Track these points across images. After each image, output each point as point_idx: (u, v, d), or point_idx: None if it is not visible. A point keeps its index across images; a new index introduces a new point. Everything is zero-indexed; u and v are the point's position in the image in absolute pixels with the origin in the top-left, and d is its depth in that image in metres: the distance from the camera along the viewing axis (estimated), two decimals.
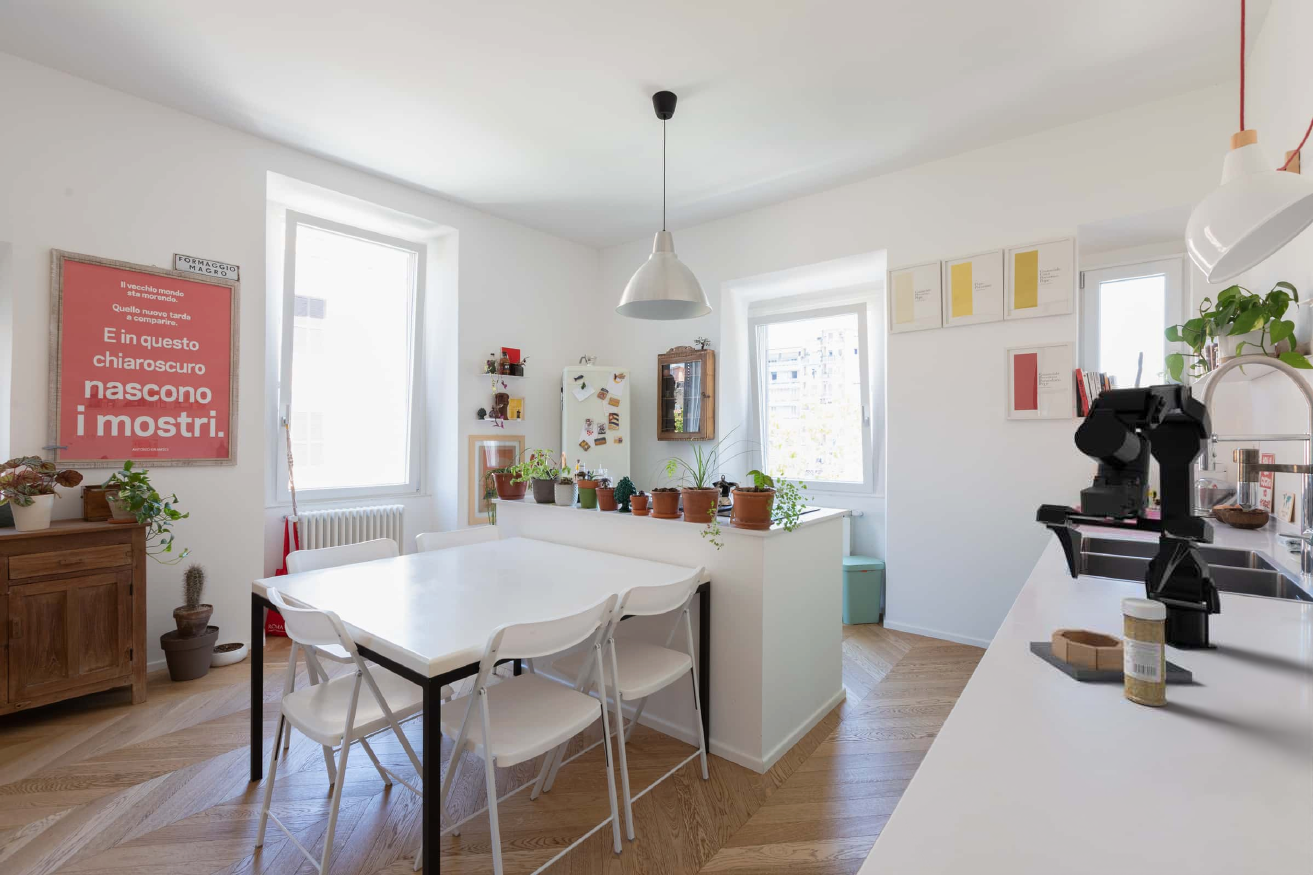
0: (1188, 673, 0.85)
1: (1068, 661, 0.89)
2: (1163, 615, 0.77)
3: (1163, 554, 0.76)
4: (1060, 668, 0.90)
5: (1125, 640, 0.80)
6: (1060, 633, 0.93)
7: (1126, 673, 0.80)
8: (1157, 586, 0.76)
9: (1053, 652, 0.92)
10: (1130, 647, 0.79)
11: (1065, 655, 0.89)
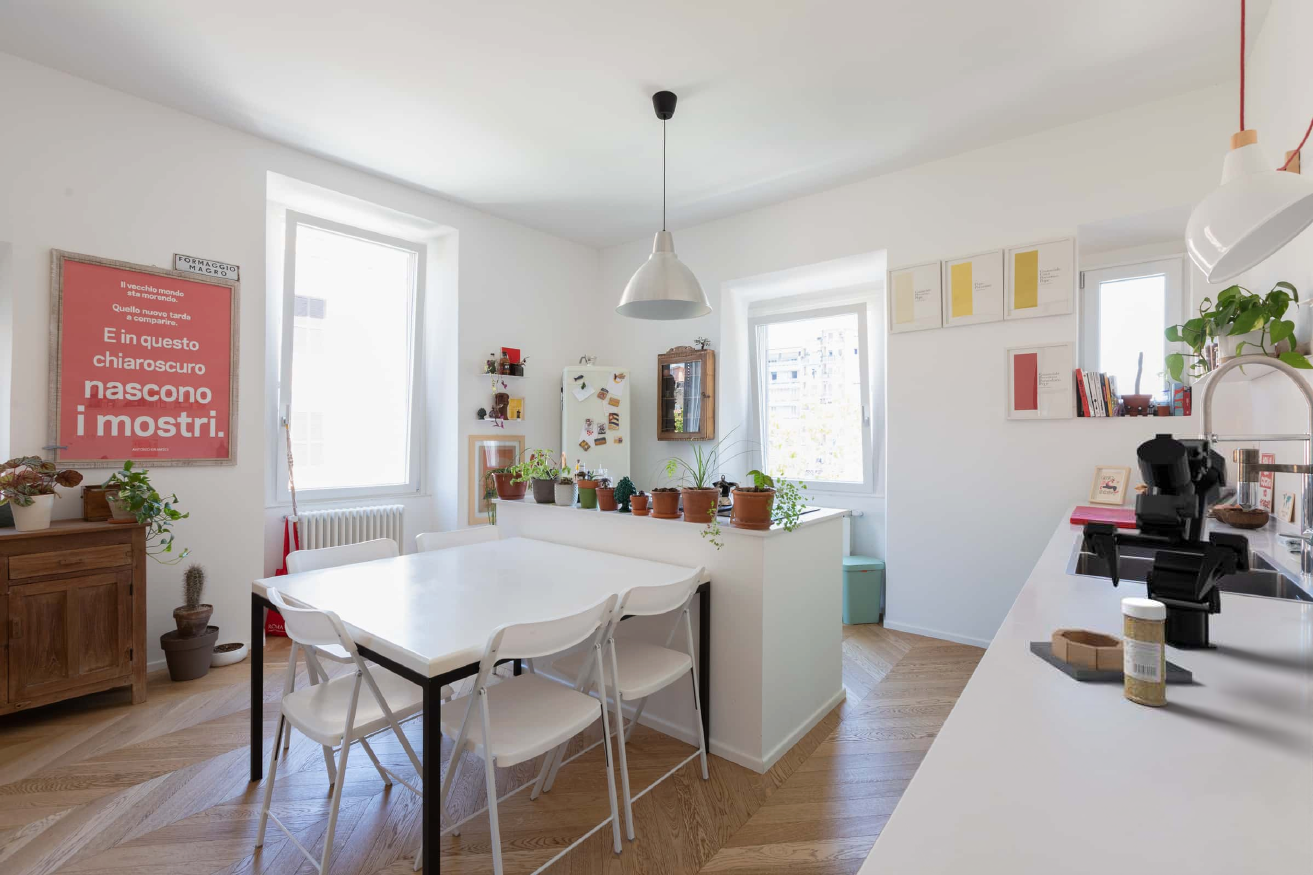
0: (1188, 673, 0.85)
1: (1068, 661, 0.89)
2: (1163, 615, 0.77)
3: (1206, 564, 0.82)
4: (1060, 668, 0.90)
5: (1125, 640, 0.80)
6: (1060, 633, 0.93)
7: (1126, 673, 0.80)
8: (1199, 591, 0.81)
9: (1053, 652, 0.92)
10: (1130, 647, 0.79)
11: (1065, 655, 0.89)
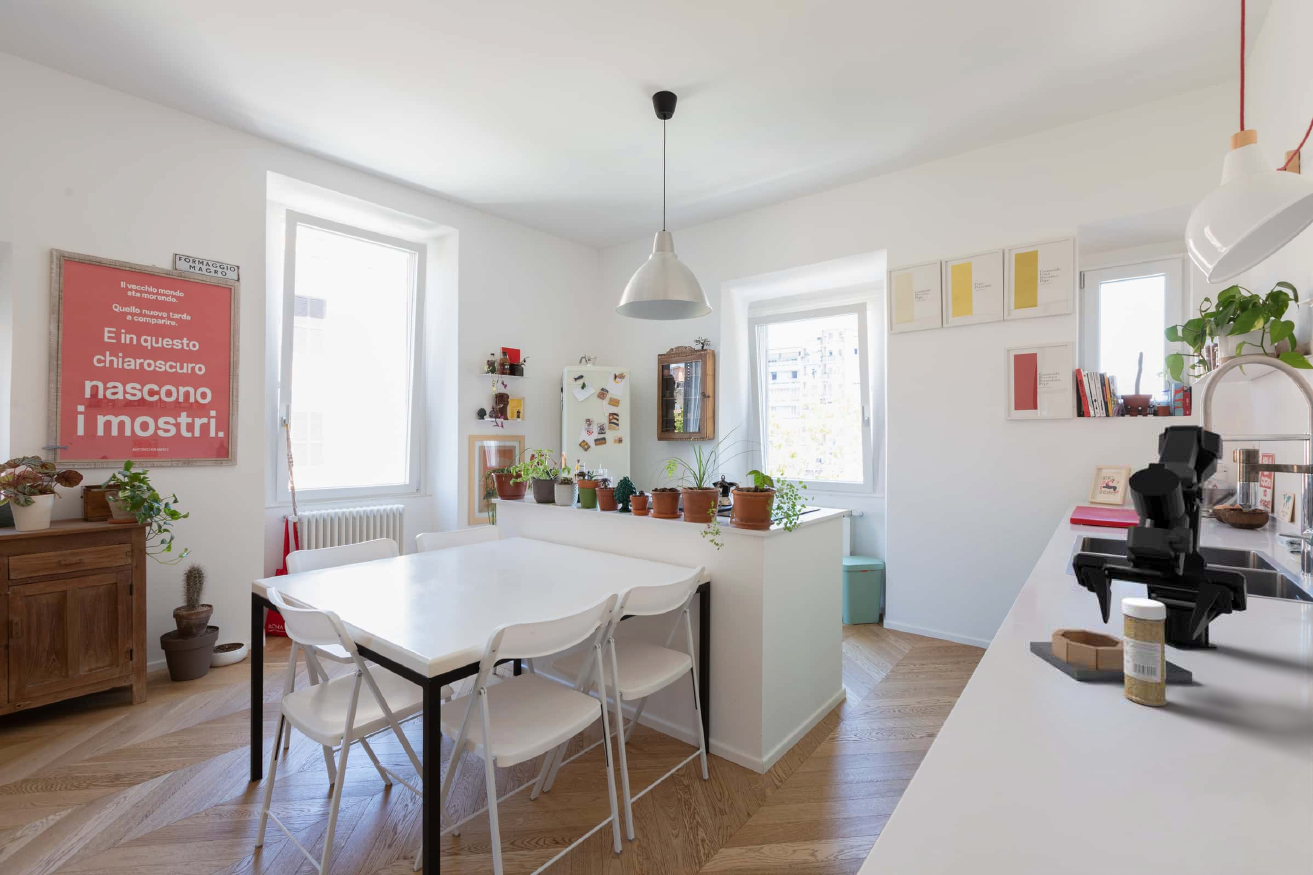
0: (1188, 673, 0.85)
1: (1068, 661, 0.89)
2: (1163, 615, 0.77)
3: (1201, 602, 0.78)
4: (1060, 668, 0.90)
5: (1125, 640, 0.80)
6: (1060, 633, 0.93)
7: (1126, 673, 0.80)
8: (1193, 631, 0.77)
9: (1053, 652, 0.92)
10: (1130, 647, 0.79)
11: (1065, 655, 0.89)
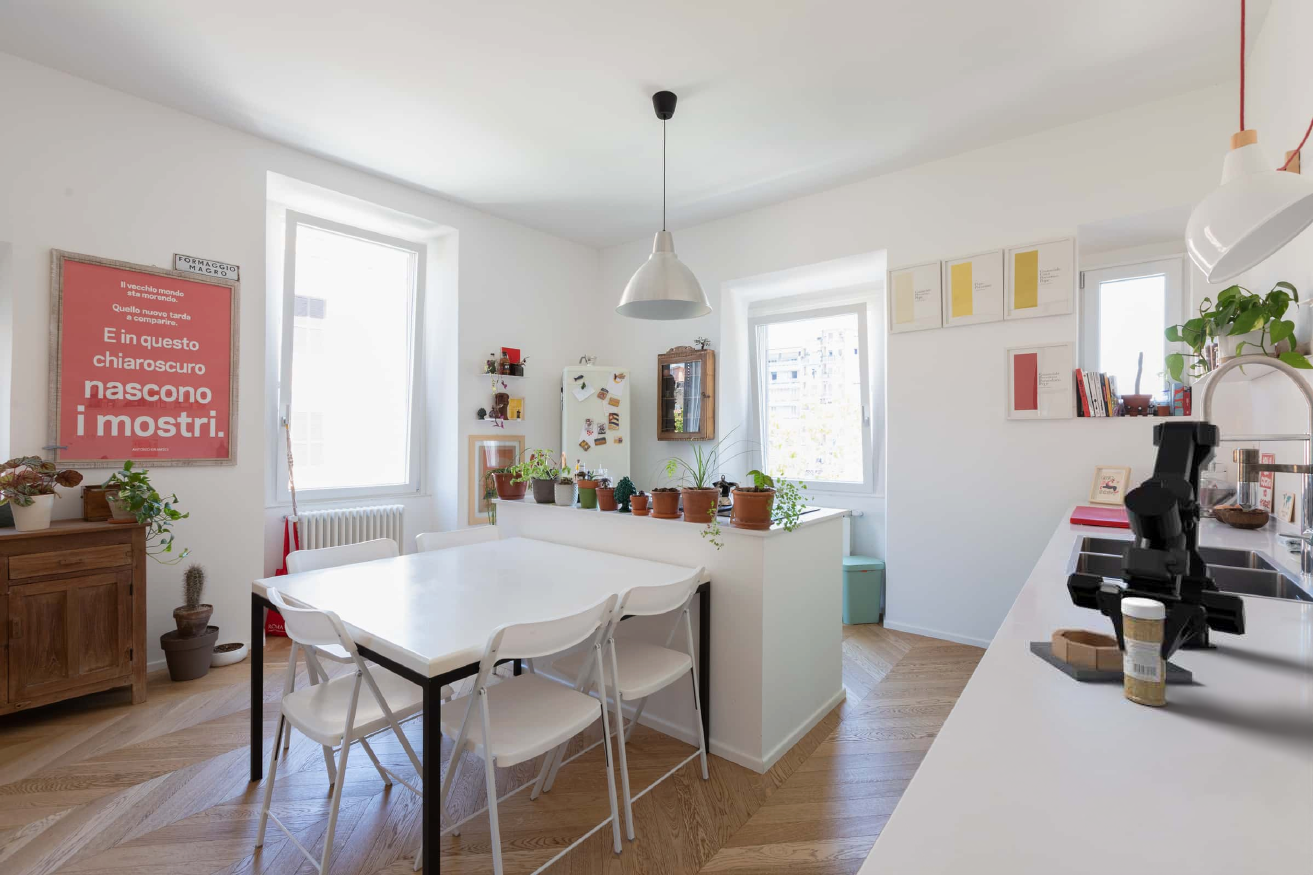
0: (1188, 673, 0.85)
1: (1068, 661, 0.89)
2: (1162, 615, 0.77)
3: (1175, 622, 0.78)
4: (1060, 668, 0.90)
5: (1125, 640, 0.80)
6: (1060, 633, 0.93)
7: (1125, 673, 0.80)
8: (1166, 652, 0.77)
9: (1053, 652, 0.92)
10: (1130, 647, 0.79)
11: (1065, 655, 0.89)
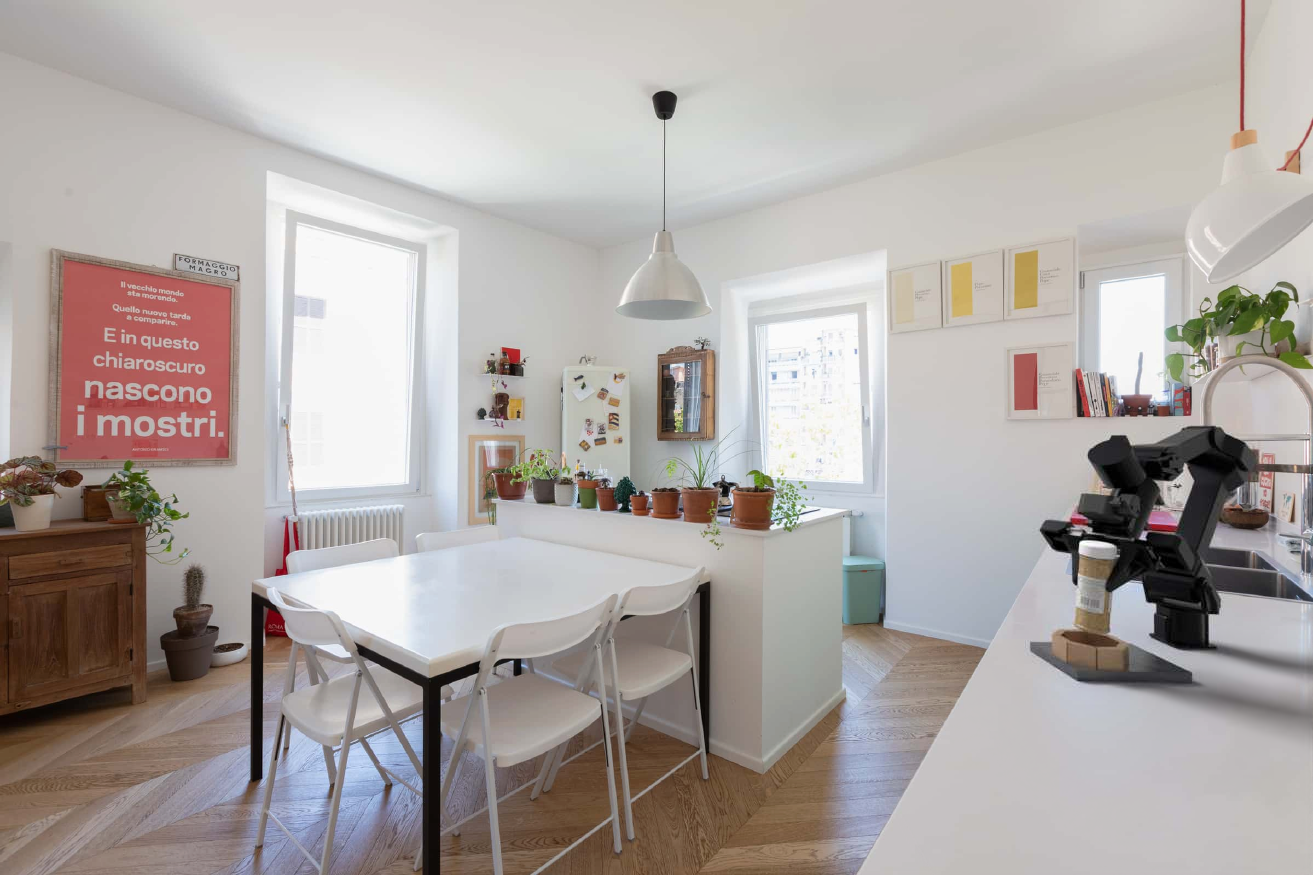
0: (1188, 673, 0.85)
1: (1068, 661, 0.89)
2: (1111, 556, 0.86)
3: (1121, 559, 0.87)
4: (1060, 668, 0.90)
5: (1078, 576, 0.90)
6: (1060, 633, 0.93)
7: None
8: (1109, 584, 0.86)
9: (1053, 652, 0.92)
10: (1080, 582, 0.89)
11: (1065, 655, 0.89)
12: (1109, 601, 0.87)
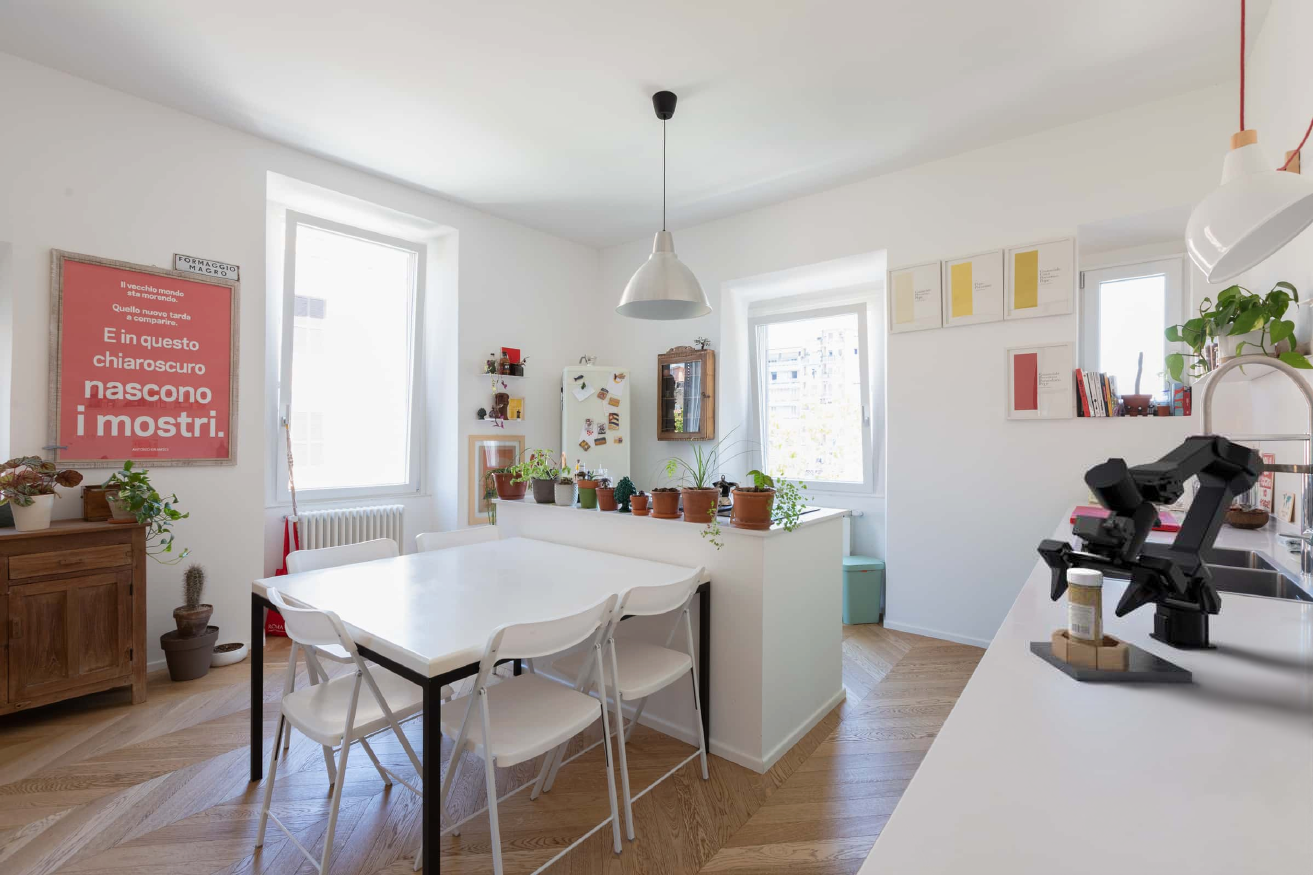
0: (1188, 673, 0.85)
1: (1068, 661, 0.89)
2: (1097, 582, 0.89)
3: (1132, 584, 0.86)
4: (1060, 668, 0.90)
5: (1068, 603, 0.92)
6: (1060, 633, 0.93)
7: None
8: (1118, 609, 0.85)
9: (1053, 652, 0.92)
10: (1070, 609, 0.91)
11: (1065, 655, 0.89)
12: (1099, 627, 0.89)
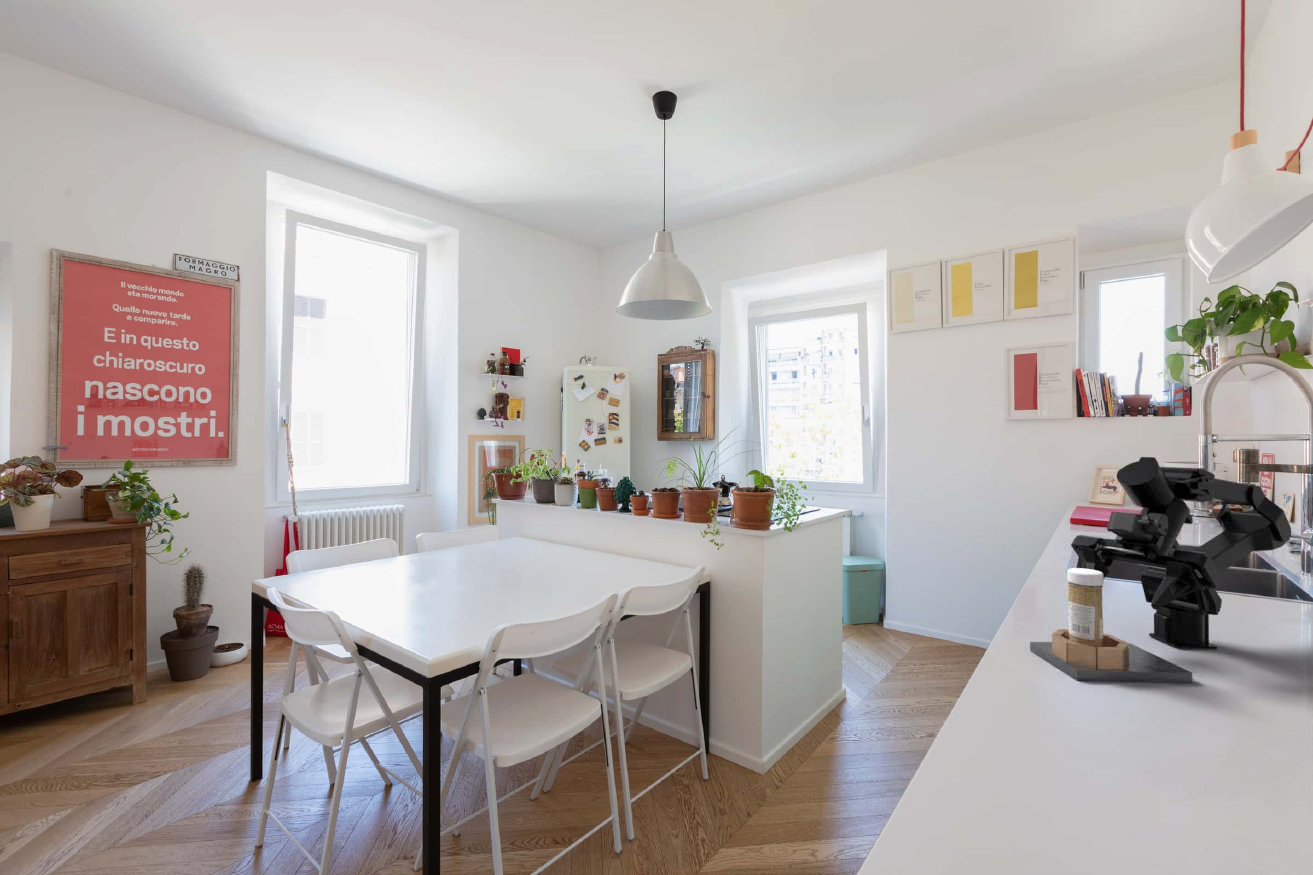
0: (1188, 673, 0.85)
1: (1068, 661, 0.89)
2: (1097, 582, 0.89)
3: (1167, 578, 0.90)
4: (1060, 668, 0.90)
5: (1068, 603, 0.92)
6: (1060, 633, 0.93)
7: None
8: (1154, 601, 0.89)
9: (1053, 652, 0.92)
10: (1070, 609, 0.91)
11: (1065, 655, 0.89)
12: (1100, 627, 0.89)
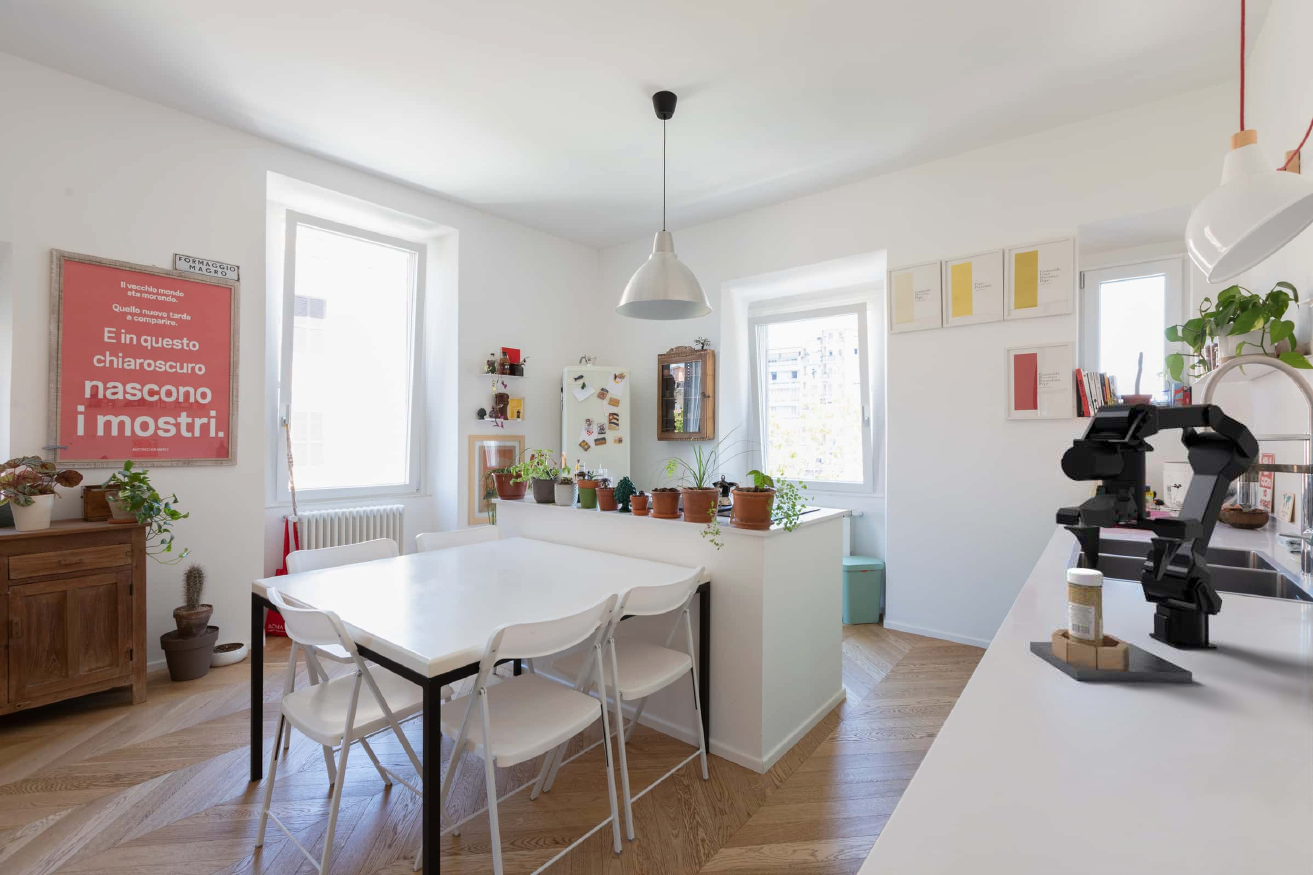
0: (1188, 673, 0.85)
1: (1068, 661, 0.89)
2: (1097, 582, 0.89)
3: (1157, 551, 0.91)
4: (1060, 668, 0.90)
5: (1068, 603, 0.92)
6: (1060, 633, 0.93)
7: None
8: (1156, 576, 0.92)
9: (1053, 652, 0.92)
10: (1070, 609, 0.91)
11: (1065, 655, 0.89)
12: (1099, 627, 0.89)
